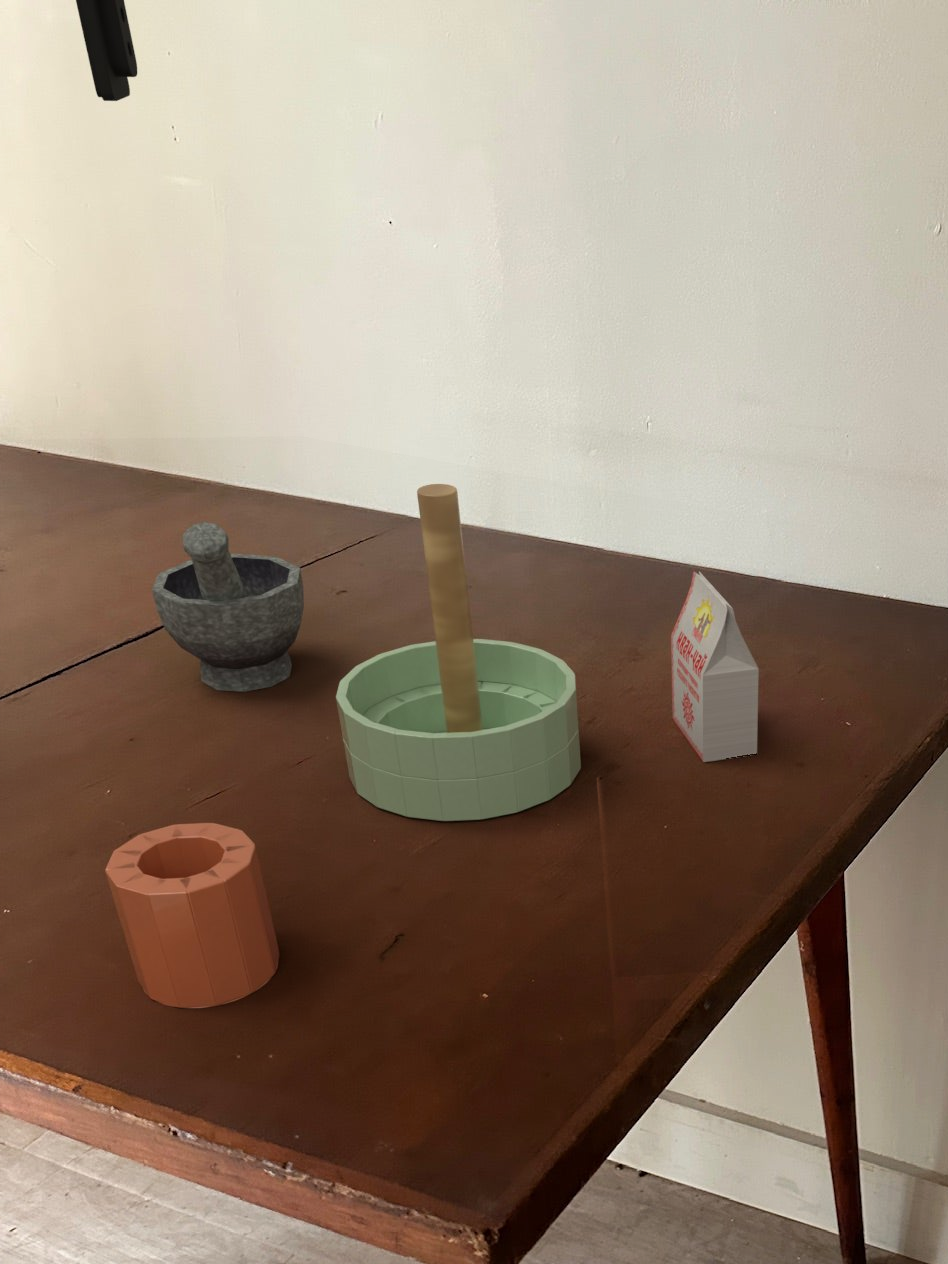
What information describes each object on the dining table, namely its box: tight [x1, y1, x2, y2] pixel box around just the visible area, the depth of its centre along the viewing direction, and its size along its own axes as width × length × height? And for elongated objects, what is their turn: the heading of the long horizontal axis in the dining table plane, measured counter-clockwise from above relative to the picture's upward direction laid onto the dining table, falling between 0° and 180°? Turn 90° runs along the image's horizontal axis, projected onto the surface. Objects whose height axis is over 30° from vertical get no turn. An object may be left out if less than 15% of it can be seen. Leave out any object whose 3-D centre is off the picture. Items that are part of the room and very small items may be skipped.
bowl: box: [335, 638, 582, 822], centre depth 88 cm, size 14×14×6 cm
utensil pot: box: [104, 822, 281, 1009], centre depth 70 cm, size 7×7×7 cm
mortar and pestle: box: [151, 521, 305, 693], centre depth 97 cm, size 11×9×12 cm
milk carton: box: [670, 571, 760, 763], centre depth 92 cm, size 4×7×10 cm, turn 20°
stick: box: [416, 483, 483, 733], centre depth 85 cm, size 2×2×17 cm
